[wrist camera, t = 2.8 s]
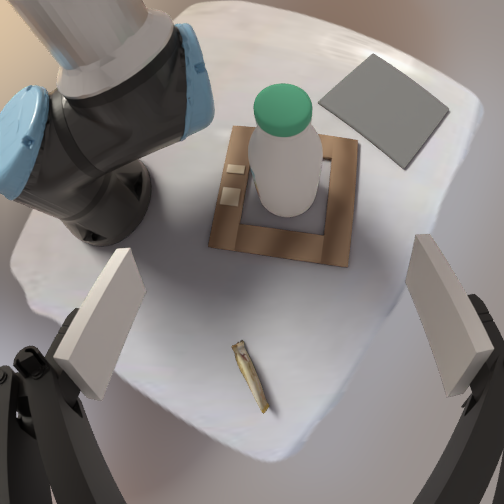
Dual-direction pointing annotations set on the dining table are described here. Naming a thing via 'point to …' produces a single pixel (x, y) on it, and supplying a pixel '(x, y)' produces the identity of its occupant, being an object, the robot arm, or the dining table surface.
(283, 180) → the milk bottle
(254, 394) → the snack bar
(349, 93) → the rubber mat
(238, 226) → the wooden frame
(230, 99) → the dining table surface
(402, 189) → the dining table surface
